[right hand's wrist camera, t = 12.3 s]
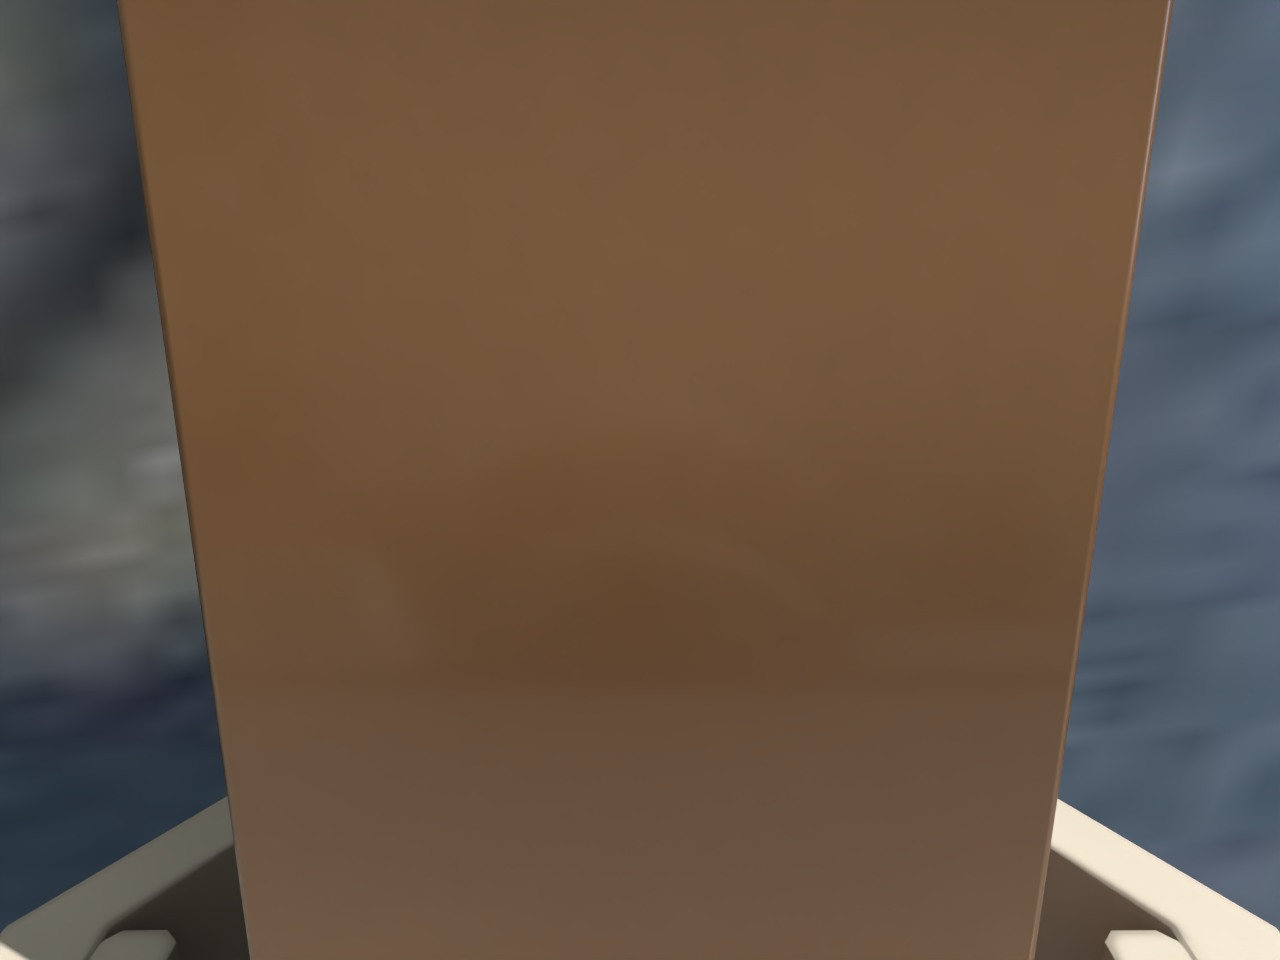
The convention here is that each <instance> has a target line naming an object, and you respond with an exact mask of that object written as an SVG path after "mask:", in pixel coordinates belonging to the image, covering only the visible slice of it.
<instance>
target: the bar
mask: <svg viewBox="0 0 1280 960" xmlns="http://www.w3.org/2000/svg"><path fill="white" fill-rule="evenodd" d="M116 1H117V8H118V15H119V22H120V30H121V37H122V44H123V51H124V58H125V65H126V73H127V80H128V87H129V94H130V101H131V108H132V116H133V123H134V130H135V137H136V144H137V151H138V159H139V166H140V173H141V180H142V187H143V194H144V202H145V209H146V216H147V223H148V230H149V237H150V245H151V252H152V259H153V266H154V273H155V281H156V288H157V295H158V302H159V309H160V316H161V324H162V331H163V338H164V345H165V352H166V359H167V367H168V374H169V381H170V388H171V395H172V402H173V410H174V417H175V424H176V431H177V438H178V445H179V453H180V460H181V467H182V474H183V481H184V488H185V496H186V503H187V510H188V517H189V524H190V531H191V539H192V546H193V553H194V560H195V567H196V574H197V582H198V589H199V596H200V603H201V610H202V617H203V625H204V632H205V639H206V646H207V653H208V660H209V668H210V675H211V682H212V689H213V696H214V703H215V711H216V718H217V725H218V732H219V739H220V746H221V754H222V761H223V768H224V775H225V782H226V789H227V797H228V804H229V811H230V818H231V825H232V832H233V840H234V847H235V854H236V861H237V868H238V876H239V883H240V890H241V897H242V904H243V911H244V919H245V926H246V933H247V940H248V947H249V954H250V960H1034V957H1035V950H1036V943H1037V936H1038V929H1039V922H1040V916H1041V909H1042V902H1043V895H1044V888H1045V881H1046V874H1047V867H1048V860H1049V854H1050V847H1051V840H1052V833H1053V826H1054V819H1055V812H1056V805H1057V798H1058V792H1059V785H1060V778H1061V771H1062V764H1063V757H1064V750H1065V743H1066V736H1067V730H1068V723H1069V716H1070V709H1071V702H1072V695H1073V688H1074V681H1075V674H1076V668H1077V661H1078V654H1079V647H1080V640H1081V633H1082V626H1083V619H1084V612H1085V606H1086V599H1087V592H1088V585H1089V578H1090V571H1091V564H1092V557H1093V550H1094V544H1095V537H1096V530H1097V523H1098V516H1099V509H1100V502H1101V495H1102V488H1103V482H1104V475H1105V468H1106V461H1107V454H1108V447H1109V440H1110V433H1111V426H1112V420H1113V413H1114V406H1115V399H1116V392H1117V385H1118V378H1119V371H1120V364H1121V358H1122V351H1123V344H1124V337H1125V330H1126V323H1127V316H1128V309H1129V302H1130V296H1131V289H1132V282H1133V275H1134V268H1135V261H1136V254H1137V247H1138V240H1139V234H1140V227H1141V220H1142V213H1143V206H1144V199H1145V192H1146V185H1147V178H1148V172H1149V165H1150V158H1151V151H1152V144H1153V137H1154V130H1155V123H1156V117H1157V110H1158V103H1159V96H1160V89H1161V82H1162V75H1163V68H1164V61H1165V55H1166V48H1167V41H1168V34H1169V27H1170V20H1171V13H1172V6H1173V0H116Z"/></svg>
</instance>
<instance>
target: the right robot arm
mask: <svg viewBox="0 0 1280 960" xmlns="http://www.w3.org/2000/svg"><path fill="white" fill-rule="evenodd" d="M0 960H250V954H249V947H248V940H247V933H246V926H245V919H244V911H243V904H242V897H241V890H240V883H239V876H238V868H237V861H236V854H235V847H234V840H233V832H232V825H231V818H230V811H229V804H228V797H225V798H223V799H221V800H220V801H218V802H216V803H215V804H213V805H211V806H210V807H208V808H206V809H204V810H203V811H201V812H199V813H198V814H196V815H194V816H193V817H191V818H189V819H188V820H186V821H184V822H182V823H181V824H179V825H177V826H176V827H174V828H172V829H171V830H169V831H167V832H165V833H164V834H162V835H160V836H159V837H157V838H155V839H154V840H152V841H150V842H148V843H147V844H145V845H143V846H142V847H140V848H138V849H137V850H135V851H133V852H132V853H130V854H128V855H126V856H125V857H123V858H121V859H120V860H118V861H116V862H115V863H113V864H111V865H109V866H108V867H106V868H104V869H103V870H101V871H99V872H98V873H96V874H94V875H93V876H91V877H89V878H87V879H86V880H84V881H82V882H81V883H79V884H77V885H76V886H74V887H72V888H70V889H69V890H67V891H65V892H64V893H62V894H60V895H59V896H57V897H55V898H53V899H52V900H50V901H48V902H47V903H45V904H43V905H42V906H40V907H38V908H37V909H35V910H33V911H31V912H30V913H28V914H26V915H25V916H23V917H21V918H20V919H18V920H16V921H14V922H13V923H11V924H9V925H8V926H6V927H5V929H4V930H3V931H2V932H1V933H0ZM1034 960H1280V932H1279V931H1278V930H1277V929H1276V928H1275V927H1274V926H1272V925H1270V924H1269V923H1267V922H1265V921H1264V920H1262V919H1260V918H1259V917H1257V916H1255V915H1253V914H1252V913H1250V912H1248V911H1247V910H1245V909H1243V908H1242V907H1240V906H1238V905H1237V904H1235V903H1233V902H1231V901H1230V900H1228V899H1226V898H1225V897H1223V896H1221V895H1220V894H1218V893H1216V892H1215V891H1213V890H1211V889H1209V888H1208V887H1206V886H1204V885H1203V884H1201V883H1199V882H1198V881H1196V880H1194V879H1193V878H1191V877H1189V876H1187V875H1186V874H1184V873H1182V872H1181V871H1179V870H1177V869H1176V868H1174V867H1172V866H1171V865H1169V864H1167V863H1165V862H1164V861H1162V860H1160V859H1159V858H1157V857H1155V856H1154V855H1152V854H1150V853H1149V852H1147V851H1145V850H1143V849H1142V848H1140V847H1138V846H1137V845H1135V844H1133V843H1132V842H1130V841H1128V840H1127V839H1125V838H1123V837H1122V836H1120V835H1118V834H1116V833H1115V832H1113V831H1111V830H1110V829H1108V828H1106V827H1105V826H1103V825H1101V824H1100V823H1098V822H1096V821H1094V820H1093V819H1091V818H1089V817H1088V816H1086V815H1084V814H1083V813H1081V812H1079V811H1078V810H1076V809H1074V808H1072V807H1071V806H1069V805H1067V804H1066V803H1064V802H1062V801H1061V800H1059V799H1057V805H1056V812H1055V819H1054V826H1053V833H1052V840H1051V847H1050V854H1049V860H1048V867H1047V874H1046V881H1045V888H1044V895H1043V902H1042V909H1041V916H1040V922H1039V929H1038V936H1037V943H1036V950H1035V957H1034Z"/></svg>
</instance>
